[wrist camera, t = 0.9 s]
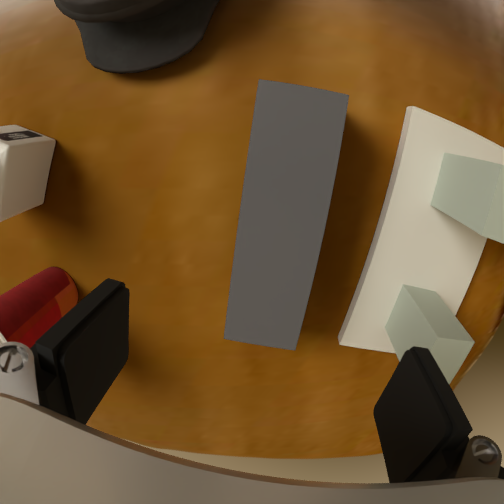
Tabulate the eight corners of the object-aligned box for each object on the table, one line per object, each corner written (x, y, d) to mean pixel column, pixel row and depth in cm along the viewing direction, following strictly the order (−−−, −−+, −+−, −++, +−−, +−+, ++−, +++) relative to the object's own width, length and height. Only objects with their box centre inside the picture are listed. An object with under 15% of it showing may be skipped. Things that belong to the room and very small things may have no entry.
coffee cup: (27, 271, 35) (-51, 328, 21) (62, 247, 33) (-29, 308, 19) (60, 324, 37) (-6, 394, 23) (98, 308, 35) (26, 388, 21)
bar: (265, 92, 26) (259, 79, 19) (333, 104, 25) (348, 95, 19) (235, 298, 33) (223, 338, 26) (293, 308, 33) (295, 350, 26)
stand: (406, 106, 24) (464, 97, 14) (502, 150, 24) (570, 165, 14) (337, 336, 33) (352, 408, 23) (428, 350, 33) (460, 412, 23)
